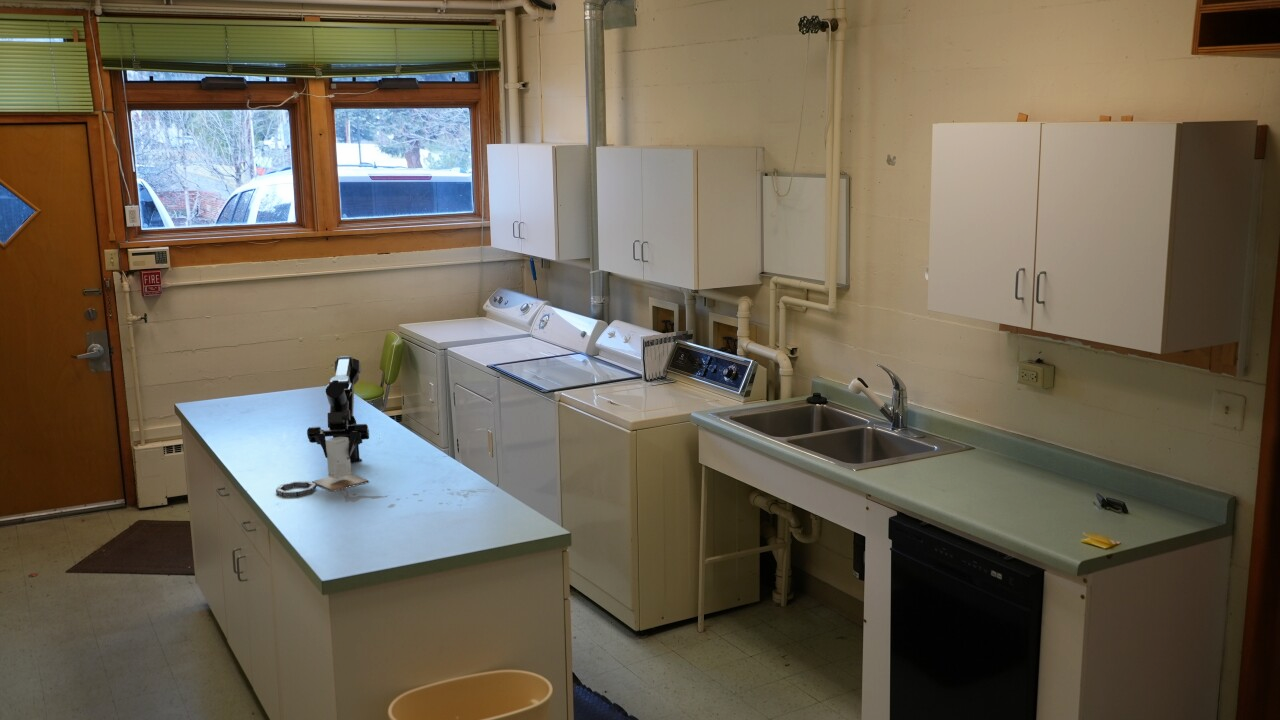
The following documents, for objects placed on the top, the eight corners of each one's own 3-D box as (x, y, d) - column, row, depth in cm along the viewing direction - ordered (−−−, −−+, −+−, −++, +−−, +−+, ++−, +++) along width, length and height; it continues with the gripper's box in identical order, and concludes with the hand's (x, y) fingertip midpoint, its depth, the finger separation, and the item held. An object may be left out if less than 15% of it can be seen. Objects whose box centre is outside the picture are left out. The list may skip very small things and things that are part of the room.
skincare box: (337, 479, 349) (334, 442, 346) (327, 476, 351) (324, 440, 349) (352, 473, 354) (349, 437, 351) (342, 471, 356) (339, 435, 354)
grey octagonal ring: (304, 483, 352) (304, 479, 352) (321, 490, 344) (321, 486, 344) (271, 491, 345) (270, 487, 345) (287, 499, 337) (287, 494, 337)
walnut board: (348, 474, 362) (348, 472, 361) (369, 482, 352) (368, 480, 352) (311, 483, 353) (311, 481, 353) (331, 491, 344) (331, 489, 343)
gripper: (305, 402, 350) (302, 446, 342) (365, 399, 353) (364, 442, 344) (311, 420, 359) (308, 463, 351) (369, 417, 362) (369, 459, 353)
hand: (337, 456), depth 350 cm, fingers closed on skincare box, 7 cm apart
